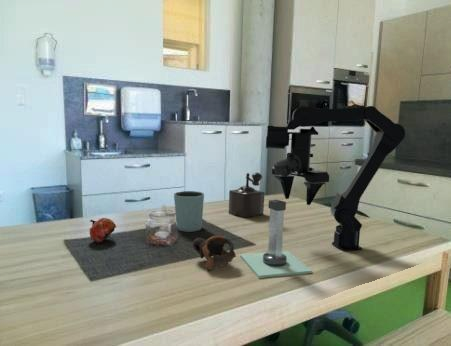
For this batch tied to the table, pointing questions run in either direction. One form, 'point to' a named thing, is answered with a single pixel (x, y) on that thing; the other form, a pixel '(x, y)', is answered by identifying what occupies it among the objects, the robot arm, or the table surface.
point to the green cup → (189, 210)
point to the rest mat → (264, 270)
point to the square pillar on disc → (275, 235)
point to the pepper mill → (247, 199)
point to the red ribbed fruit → (101, 229)
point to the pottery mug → (214, 251)
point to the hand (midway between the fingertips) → (297, 201)
